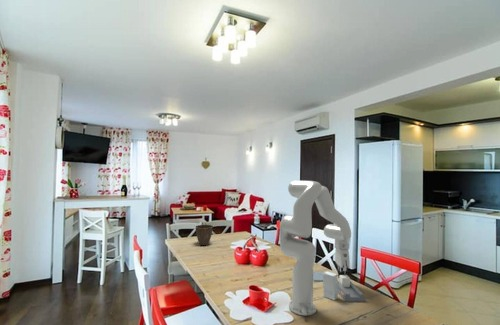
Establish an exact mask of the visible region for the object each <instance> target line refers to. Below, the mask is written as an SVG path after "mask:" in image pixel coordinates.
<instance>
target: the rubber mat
mask: <svg viewBox="0 0 500 325" xmlns="http://www.w3.org/2000/svg"><path fill="white" fill-rule="evenodd" d="M325 272H326V271H325ZM325 272H324V271H320V272H319V271H313V282H316V283H317V282H322V283H323V273H325Z"/></svg>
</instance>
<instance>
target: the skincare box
mask: <svg viewBox="0 0 500 325" xmlns="http://www.w3.org/2000/svg"><path fill="white" fill-rule="evenodd" d="M337 280H338V273H335V272H331V271H327V270H326V271H325V273H323V282H322V283H323V284H322V287H323V297H324V298H327V299H329V300H333V301H336V300H337V299H338V296H339V295H338V294H339V293H338V288H337Z"/></svg>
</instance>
